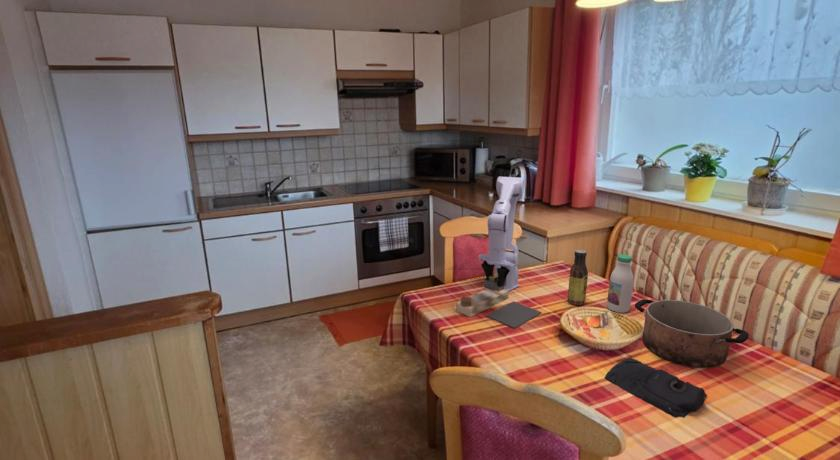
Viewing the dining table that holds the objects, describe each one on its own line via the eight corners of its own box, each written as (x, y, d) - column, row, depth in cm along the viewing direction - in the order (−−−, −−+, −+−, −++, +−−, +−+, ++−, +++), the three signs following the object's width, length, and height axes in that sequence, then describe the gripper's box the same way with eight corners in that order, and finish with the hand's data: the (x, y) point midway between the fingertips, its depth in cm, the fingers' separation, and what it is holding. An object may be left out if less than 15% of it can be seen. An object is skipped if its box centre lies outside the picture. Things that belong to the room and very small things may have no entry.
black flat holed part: (630, 360, 131) (632, 345, 130) (712, 399, 114) (716, 383, 113) (599, 379, 123) (601, 363, 122) (683, 424, 106) (686, 407, 104)
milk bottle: (625, 304, 166) (632, 252, 160) (633, 313, 158) (640, 260, 153) (603, 303, 167) (609, 252, 161) (610, 313, 159) (616, 259, 154)
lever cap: (495, 281, 165) (496, 271, 163) (506, 285, 161) (506, 274, 160) (483, 287, 160) (483, 276, 159) (493, 290, 157) (494, 280, 156)
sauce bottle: (586, 306, 164) (591, 255, 158) (568, 305, 165) (573, 254, 160) (583, 299, 170) (589, 249, 164) (566, 297, 171) (571, 248, 166)
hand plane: (493, 292, 176) (494, 278, 174) (508, 298, 171) (509, 283, 170) (455, 310, 161) (455, 295, 160) (470, 317, 157) (470, 301, 155)
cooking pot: (616, 340, 142) (620, 309, 139) (649, 319, 155) (654, 290, 152) (725, 385, 119) (733, 349, 116) (753, 356, 133) (760, 323, 130)
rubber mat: (513, 302, 168) (513, 301, 167) (541, 313, 159) (541, 312, 159) (485, 316, 157) (485, 315, 157) (514, 328, 149) (514, 327, 148)
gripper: (473, 245, 159) (472, 281, 163) (506, 255, 149) (504, 293, 153) (486, 241, 164) (484, 276, 168) (519, 250, 154) (517, 287, 157)
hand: (495, 284), depth 161 cm, fingers closed on lever cap, 4 cm apart
